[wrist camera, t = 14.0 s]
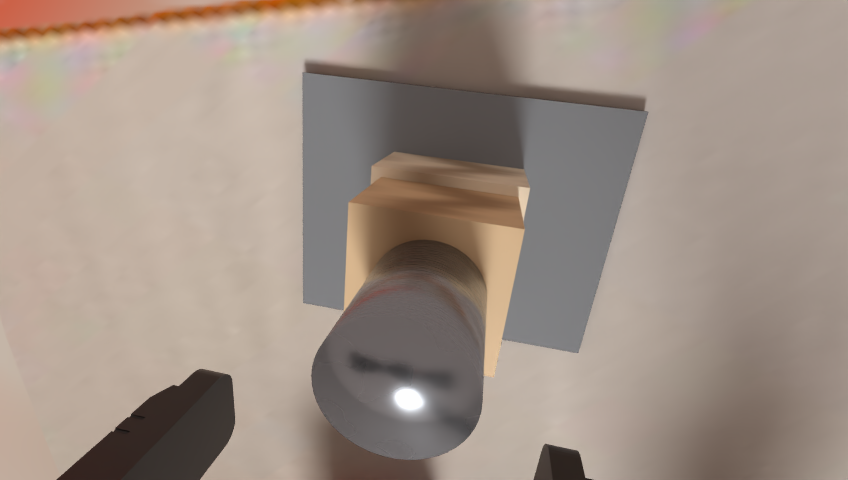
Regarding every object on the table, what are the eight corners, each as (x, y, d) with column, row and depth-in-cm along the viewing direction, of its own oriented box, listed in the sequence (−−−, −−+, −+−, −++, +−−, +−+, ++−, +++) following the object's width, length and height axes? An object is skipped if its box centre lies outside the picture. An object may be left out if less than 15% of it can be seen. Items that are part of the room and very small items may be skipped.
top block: (518, 197, 20) (524, 229, 16) (494, 318, 23) (493, 377, 18) (381, 176, 21) (348, 202, 16) (372, 296, 24) (342, 347, 19)
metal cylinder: (496, 250, 16) (496, 335, 11) (476, 355, 18) (468, 475, 12) (373, 230, 17) (312, 301, 11) (366, 334, 18) (310, 439, 13)
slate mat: (644, 111, 23) (648, 111, 22) (576, 348, 29) (578, 353, 28) (306, 72, 25) (302, 72, 25) (306, 299, 31) (303, 303, 31)
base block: (524, 169, 25) (530, 188, 20) (500, 287, 28) (501, 327, 23) (394, 151, 26) (371, 165, 21) (385, 267, 28) (363, 302, 24)
